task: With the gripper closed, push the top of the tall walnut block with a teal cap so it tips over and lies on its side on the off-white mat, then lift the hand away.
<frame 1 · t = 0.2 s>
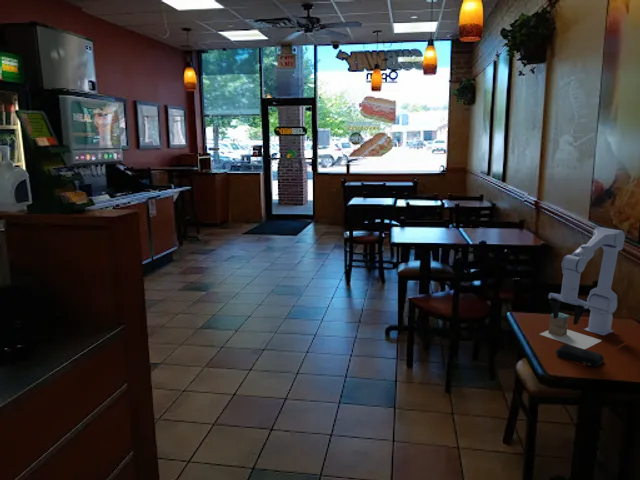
hand: (565, 321, 194), 10 cm above the table, tool pointing down, fingers open, 7 cm apart
mat: (570, 338, 203), on the table
carrying case or bag: (578, 360, 184), on the table
walnut block: (557, 333, 206), point 1 cm above the table, touching mat
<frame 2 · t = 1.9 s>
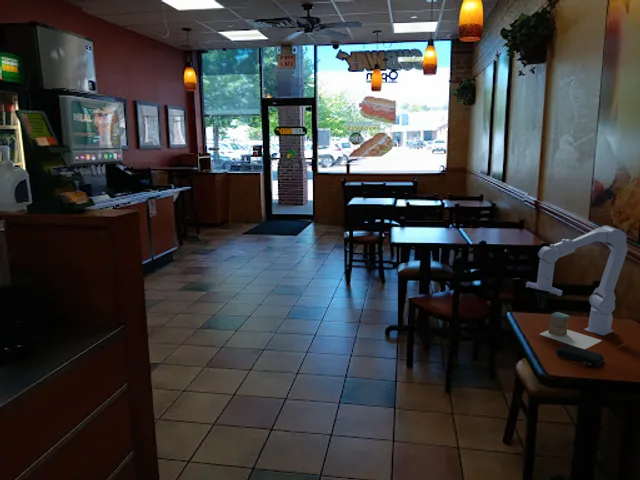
hand: (541, 307, 211), 9 cm above the table, tool pointing down, fingers closed
nothing on the table moved.
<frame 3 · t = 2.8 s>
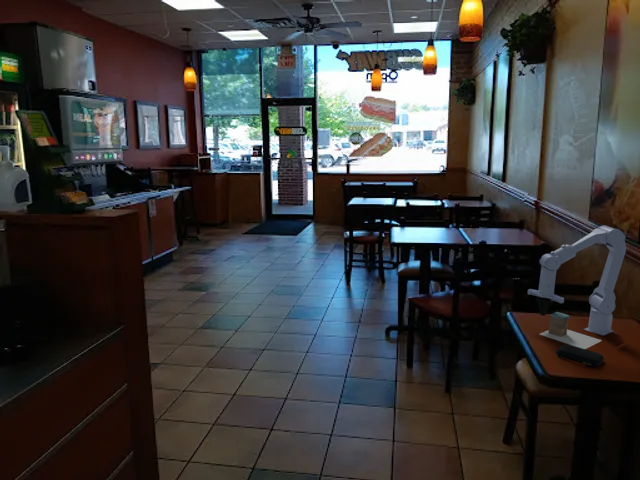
hand: (543, 315, 210), 6 cm above the table, tool pointing down, fingers closed
nothing on the table moved.
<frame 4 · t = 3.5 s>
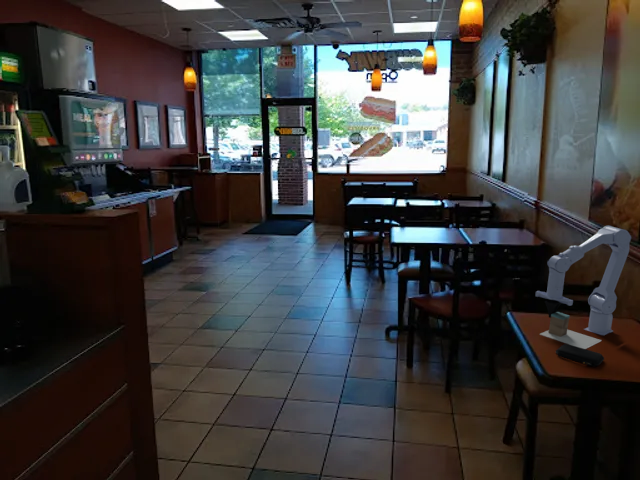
hand: (551, 317, 208), 6 cm above the table, tool pointing down, fingers closed
walnut block: (557, 333, 206), point 1 cm above the table, touching gripper, mat
everything else where it was.
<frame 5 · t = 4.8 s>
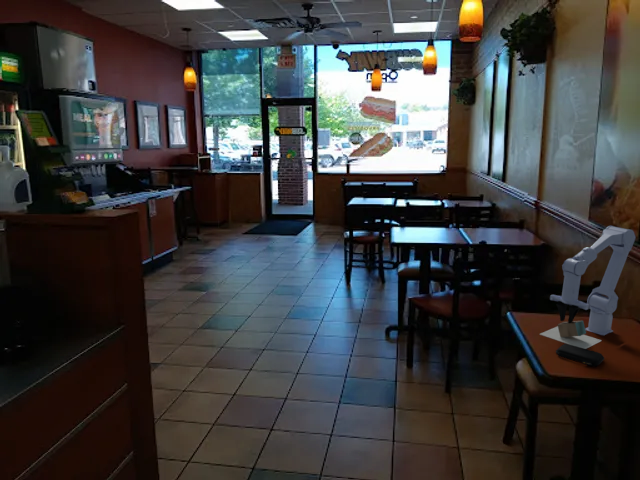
hand: (566, 321, 203), 7 cm above the table, tool pointing down, fingers closed
walnut block: (561, 329, 205), point 3 cm above the table, tilted 68°, touching gripper, mat
everything else where it was.
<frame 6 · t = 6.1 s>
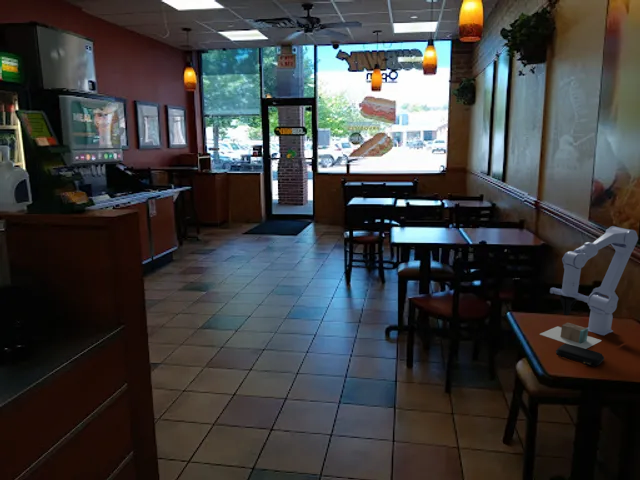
hand: (566, 314, 203), 9 cm above the table, tool pointing down, fingers closed
walnut block: (564, 329, 204), point 3 cm above the table, tilted 90°, touching mat
everything else where it was.
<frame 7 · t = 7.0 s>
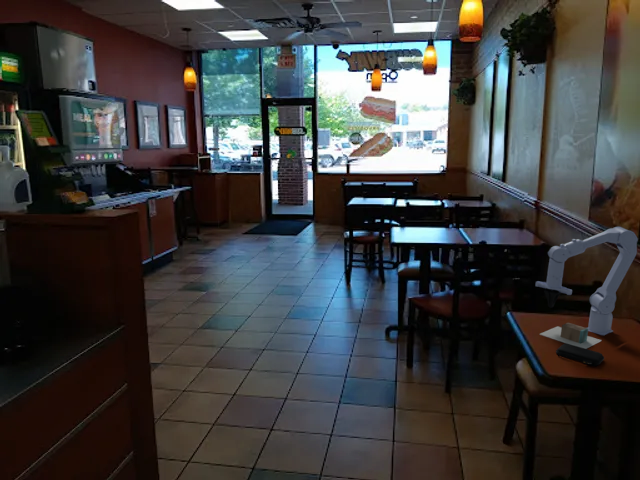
hand: (550, 306, 211), 9 cm above the table, tool pointing down, fingers closed
nothing on the table moved.
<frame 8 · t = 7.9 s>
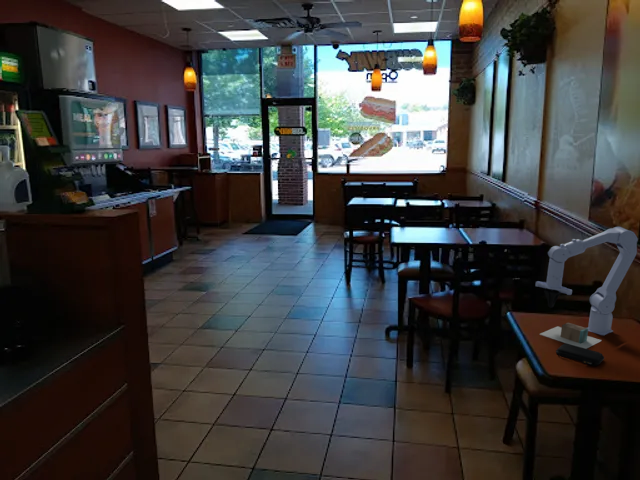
hand: (550, 306, 211), 9 cm above the table, tool pointing down, fingers closed
nothing on the table moved.
at the end: walnut block tilted 90°; walnut block inside the target area (1.0 cm from its centre), point 3.1 cm above the table; walnut block touching mat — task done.
